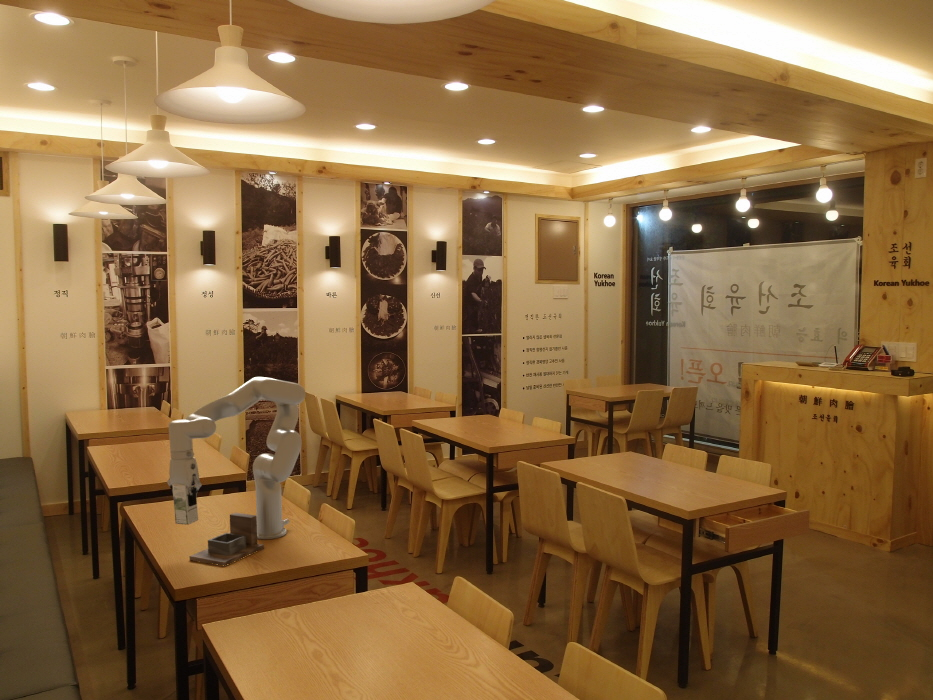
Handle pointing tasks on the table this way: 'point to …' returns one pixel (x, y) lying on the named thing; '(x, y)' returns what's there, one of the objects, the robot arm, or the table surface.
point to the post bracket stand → (232, 542)
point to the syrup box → (183, 506)
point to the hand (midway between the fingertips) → (185, 503)
